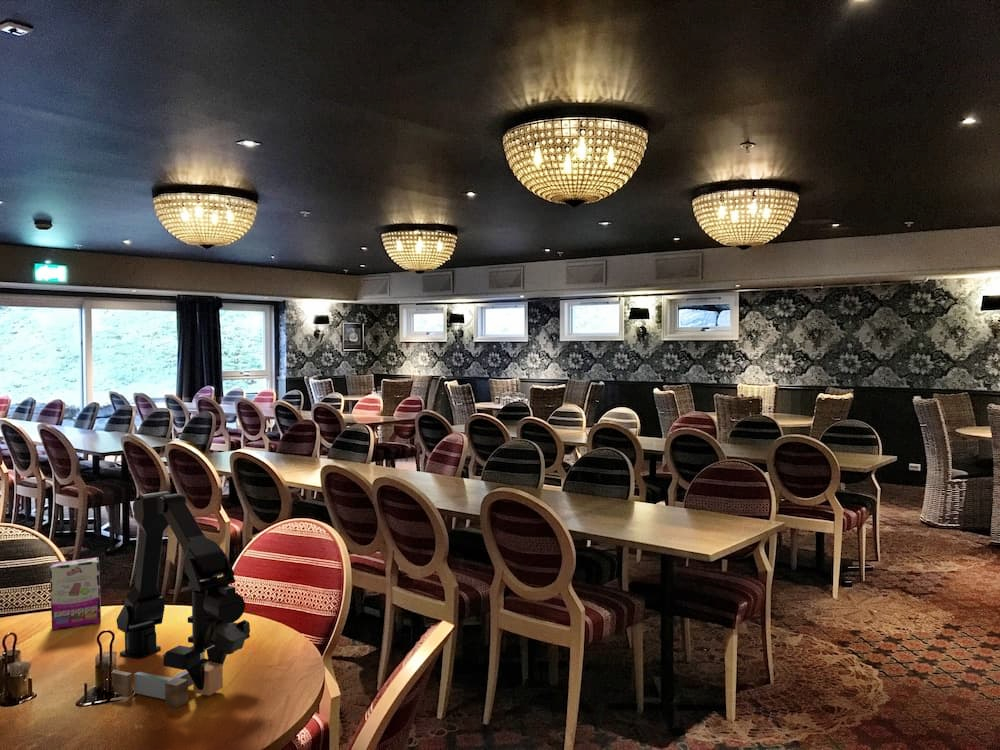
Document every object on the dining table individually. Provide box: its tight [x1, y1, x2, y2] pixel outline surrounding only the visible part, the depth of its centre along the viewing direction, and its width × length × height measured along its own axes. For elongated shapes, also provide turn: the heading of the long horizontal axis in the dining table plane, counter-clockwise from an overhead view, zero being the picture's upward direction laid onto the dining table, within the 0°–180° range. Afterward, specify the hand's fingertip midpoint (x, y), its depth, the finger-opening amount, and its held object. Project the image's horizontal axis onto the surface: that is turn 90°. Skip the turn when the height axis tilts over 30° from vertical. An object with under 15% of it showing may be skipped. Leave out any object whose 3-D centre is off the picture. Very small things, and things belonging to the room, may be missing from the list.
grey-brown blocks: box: [111, 669, 189, 709], centre depth 159 cm, size 20×3×4 cm, turn 69°
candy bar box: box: [49, 556, 102, 631], centre depth 200 cm, size 11×5×16 cm, turn 117°
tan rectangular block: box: [192, 661, 224, 696], centre depth 160 cm, size 4×4×5 cm
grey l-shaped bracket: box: [133, 670, 193, 700], centre depth 161 cm, size 10×7×4 cm
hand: (208, 685), depth 160 cm, fingers closed on tan rectangular block, 4 cm apart
